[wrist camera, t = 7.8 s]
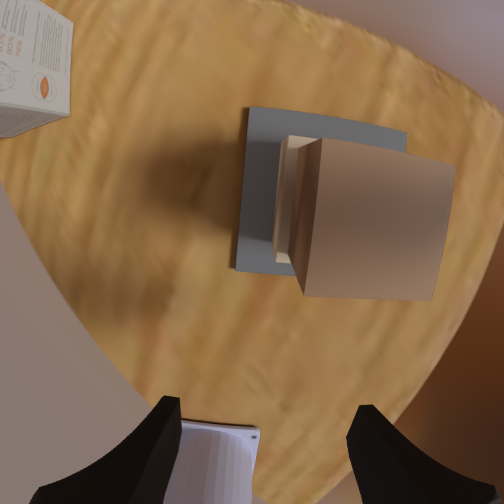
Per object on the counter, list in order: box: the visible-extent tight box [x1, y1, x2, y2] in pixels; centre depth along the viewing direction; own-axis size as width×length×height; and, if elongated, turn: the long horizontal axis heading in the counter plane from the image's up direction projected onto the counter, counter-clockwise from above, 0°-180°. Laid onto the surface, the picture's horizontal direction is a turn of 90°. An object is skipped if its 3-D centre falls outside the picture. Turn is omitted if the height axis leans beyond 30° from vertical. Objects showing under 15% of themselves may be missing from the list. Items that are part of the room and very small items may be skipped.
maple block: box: [271, 135, 318, 263], centre depth 16 cm, size 6×6×4 cm
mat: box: [236, 107, 407, 276], centre depth 18 cm, size 10×10×1 cm
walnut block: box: [288, 138, 456, 301], centre depth 12 cm, size 5×5×5 cm
